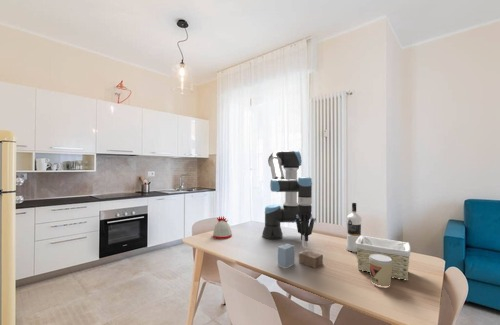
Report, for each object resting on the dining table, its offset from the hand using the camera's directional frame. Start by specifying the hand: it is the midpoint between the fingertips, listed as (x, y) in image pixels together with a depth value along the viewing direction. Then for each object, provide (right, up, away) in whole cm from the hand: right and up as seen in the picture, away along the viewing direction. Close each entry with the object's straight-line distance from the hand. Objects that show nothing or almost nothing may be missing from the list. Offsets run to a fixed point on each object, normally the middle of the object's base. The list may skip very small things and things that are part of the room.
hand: (304, 246), depth 134 cm
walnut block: (-1, -6, +1) cm, 6 cm away
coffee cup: (+29, -8, -25) cm, 39 cm away
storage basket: (+37, -9, -12) cm, 40 cm away
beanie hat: (-51, -8, +45) cm, 68 cm away
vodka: (+35, -9, +17) cm, 40 cm away
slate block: (-11, -8, -6) cm, 15 cm away
